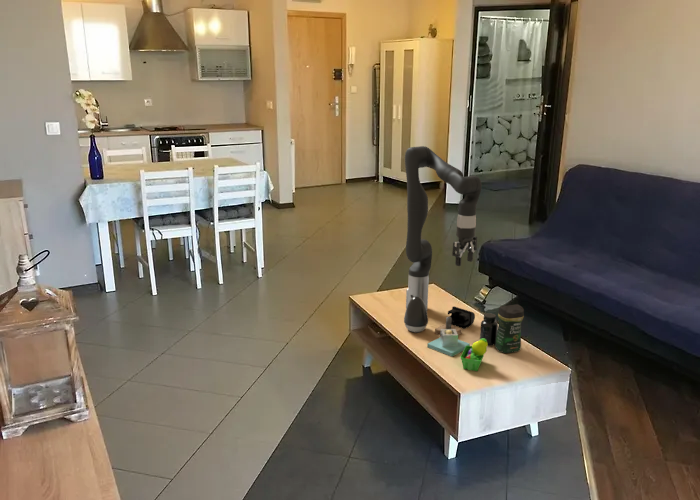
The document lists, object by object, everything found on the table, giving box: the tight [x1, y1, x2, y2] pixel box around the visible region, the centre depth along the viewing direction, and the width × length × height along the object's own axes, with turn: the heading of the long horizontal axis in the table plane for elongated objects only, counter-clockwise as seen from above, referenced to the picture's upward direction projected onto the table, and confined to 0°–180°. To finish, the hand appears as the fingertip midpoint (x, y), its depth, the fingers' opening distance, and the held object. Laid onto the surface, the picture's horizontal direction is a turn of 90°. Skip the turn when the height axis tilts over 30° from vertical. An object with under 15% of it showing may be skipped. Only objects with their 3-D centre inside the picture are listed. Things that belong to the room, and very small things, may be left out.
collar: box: [439, 329, 459, 347], centre depth 232 cm, size 6×6×5 cm
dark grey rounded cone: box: [403, 295, 429, 333], centre depth 247 cm, size 10×10×15 cm
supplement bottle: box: [479, 313, 499, 347], centre depth 235 cm, size 7×7×12 cm
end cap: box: [447, 306, 476, 330], centre depth 254 cm, size 10×7×7 cm
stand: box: [434, 316, 463, 336], centre depth 245 cm, size 8×8×7 cm
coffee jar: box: [494, 303, 525, 354], centre depth 228 cm, size 10×8×19 cm
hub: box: [426, 330, 471, 357], centre depth 232 cm, size 12×12×7 cm
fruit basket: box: [460, 338, 488, 372], centre depth 216 cm, size 11×9×11 cm
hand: (464, 263), depth 240 cm, fingers open, 8 cm apart
